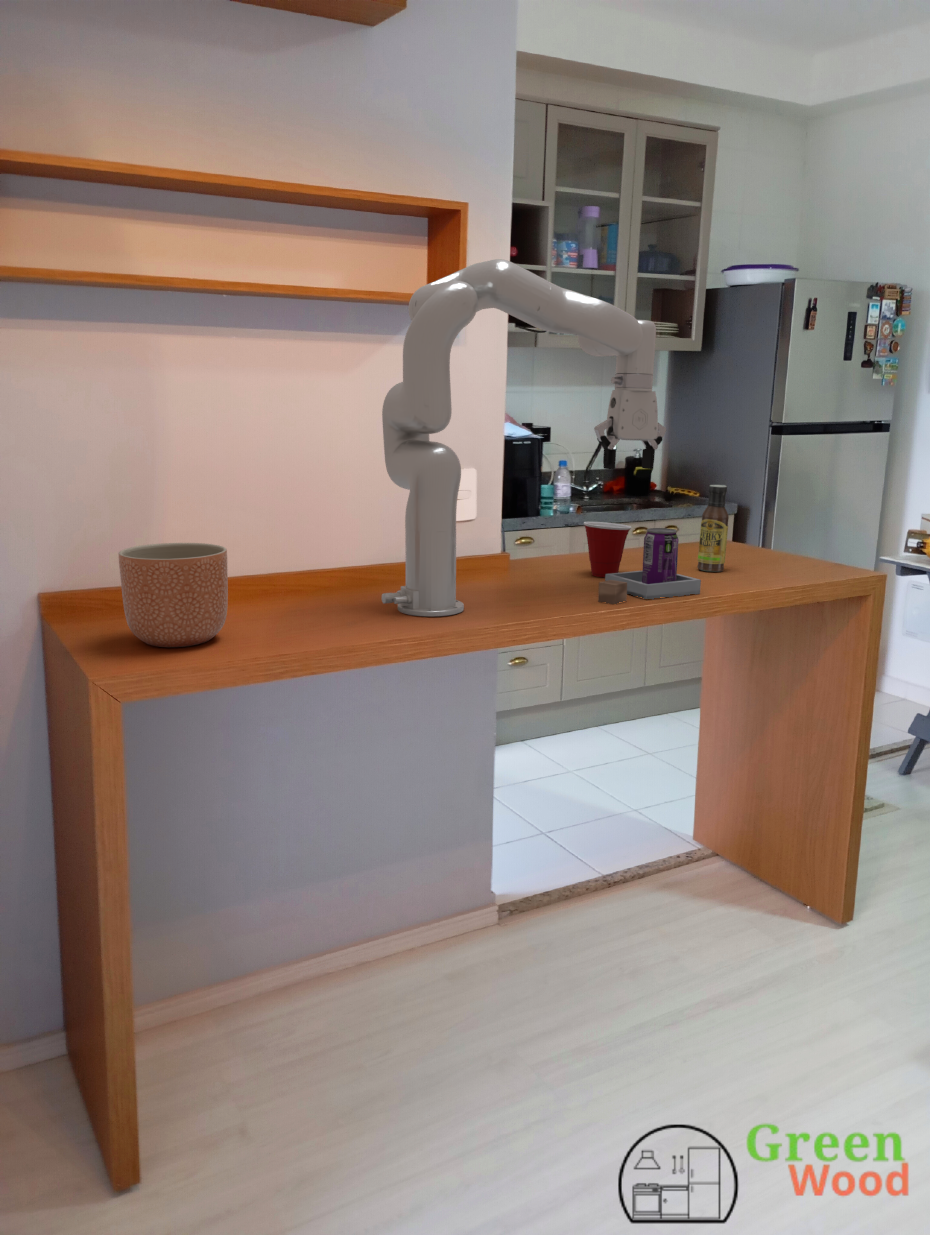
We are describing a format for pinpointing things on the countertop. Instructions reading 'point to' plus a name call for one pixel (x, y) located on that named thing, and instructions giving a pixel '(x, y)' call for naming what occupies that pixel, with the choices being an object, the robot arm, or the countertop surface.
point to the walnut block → (612, 591)
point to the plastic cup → (605, 546)
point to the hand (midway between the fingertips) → (628, 468)
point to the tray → (656, 585)
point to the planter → (174, 592)
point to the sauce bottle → (713, 531)
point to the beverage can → (660, 556)
